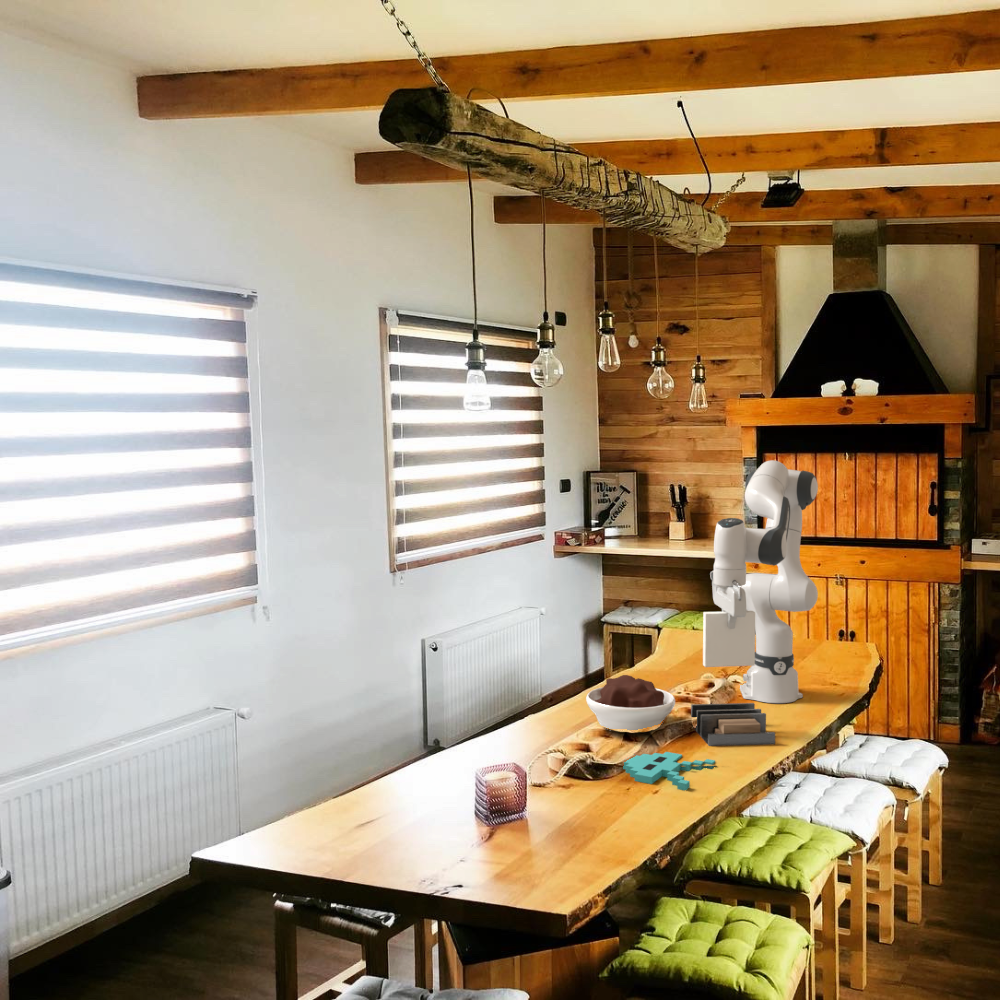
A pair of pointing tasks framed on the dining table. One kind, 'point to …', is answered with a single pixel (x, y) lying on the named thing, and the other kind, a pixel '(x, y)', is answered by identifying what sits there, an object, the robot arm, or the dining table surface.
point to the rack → (714, 712)
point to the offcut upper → (739, 726)
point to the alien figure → (662, 768)
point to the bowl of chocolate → (629, 703)
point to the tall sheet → (728, 640)
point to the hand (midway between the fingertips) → (729, 626)
